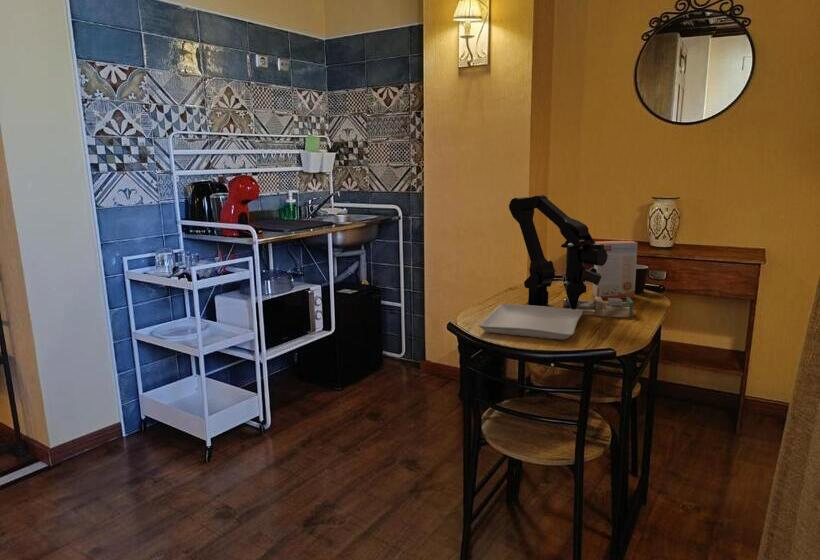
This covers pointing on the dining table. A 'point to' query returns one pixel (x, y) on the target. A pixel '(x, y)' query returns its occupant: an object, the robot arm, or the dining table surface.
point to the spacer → (614, 302)
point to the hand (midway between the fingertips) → (572, 307)
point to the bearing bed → (611, 309)
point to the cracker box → (617, 270)
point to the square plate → (532, 321)
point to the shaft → (580, 305)
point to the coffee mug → (640, 278)
